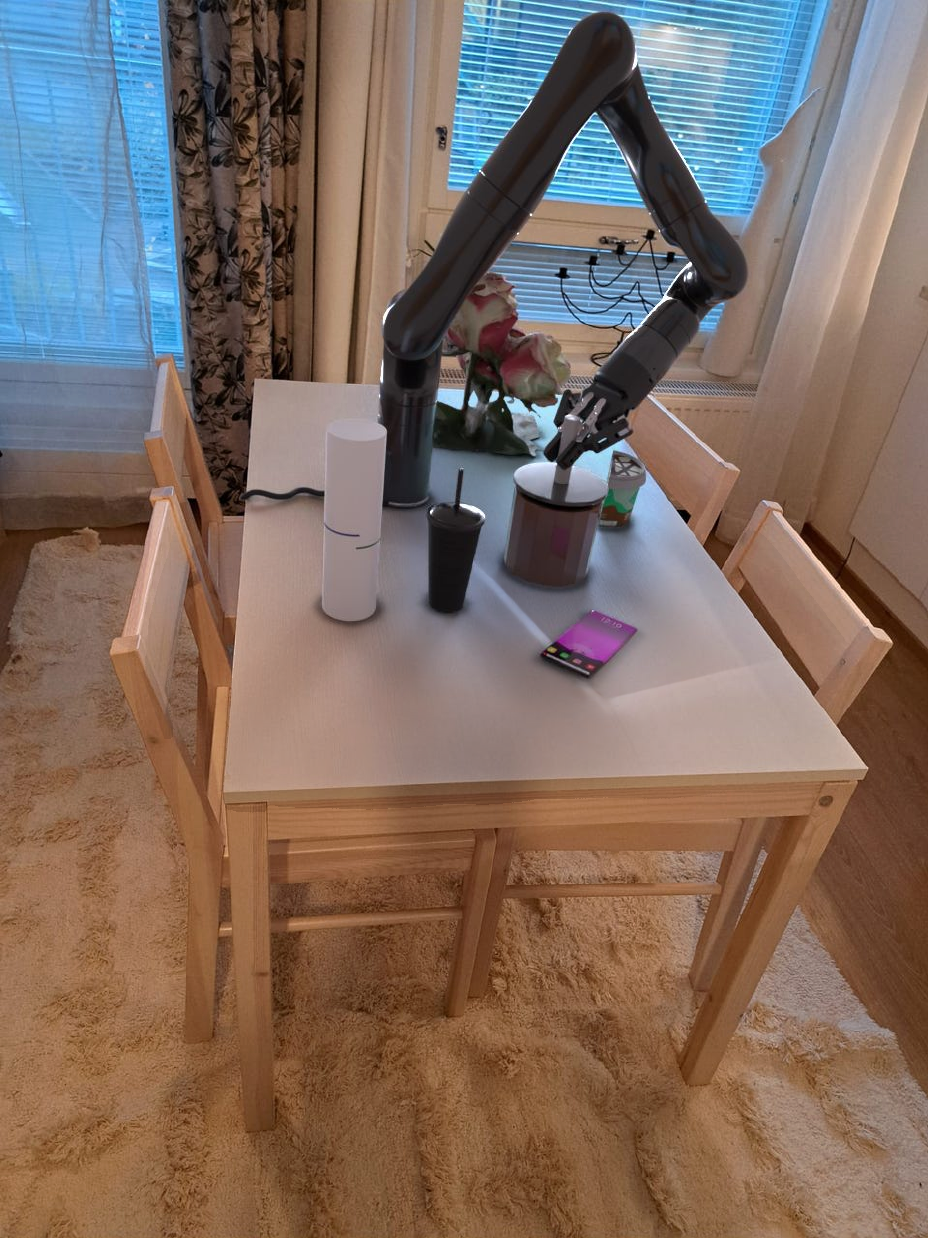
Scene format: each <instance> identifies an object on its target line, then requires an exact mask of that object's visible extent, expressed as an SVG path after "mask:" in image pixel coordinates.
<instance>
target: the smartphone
mask: <svg viewBox="0 0 928 1238" xmlns="http://www.w3.org/2000/svg"><path fill="white" fill-rule="evenodd" d="M637 631H638V629H637V627H635V626H633V625H630V624H628V623H626V622H623V621H620V620H618V619H615V618H613V617H611V616H609V615H606V614H604V613H602V612H600V611H597V610H594V609H592V610H590V611H589V612H587V613H586V614H585V615H584V616H583V617H581V619H579V620H578V621H577V622H576V623H575V624H574V625H572V626H571V627H570V628H568V629H567V630H566V631H565V632H564V633H563V634H562V635H560V636H559V637H558V638H557V639H555V640H554V641H553V642H552V643H550V645H549V646H547V647H546V648H545V649H544V650H542V651H541V652H540V653H539V656H540V658H542V659H545V660H547V661H549V662H550V663H553V664H555V665H557V666H559V667H561V668H564V669H566V670H568V671H570V672H573V673H574V674H577V675H579V676H582V678H583V677H584V678H586V679H589V678H591V677H592V676H593V675H594V674H595V673H596V672H597V671H598V670H600V668H601V667H602V666H603V665H605V664H606V662H607V661H608V660H609V659H611V658H612V657H613V656H614V655H615V654H616V653H617V652H618V651H619V650H620V649H621V648H622V647H623V646H624V645H625V644H626V643H627V642H628V641H630V639H631V638H632V637H633V636H635V634H636V633H637Z"/></svg>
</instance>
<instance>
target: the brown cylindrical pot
mask: <svg viewBox="0 0 928 1238" xmlns="http://www.w3.org/2000/svg"><path fill="white" fill-rule="evenodd" d="M602 503H603V501H601V502H599V503H596V504H593V505H588V506H562V505H555V504H551V503H547V502H543V501H540V500H537V499H535V498H532V497H530V496H528V495H526V494H525V493H523V492H522V491H520V490H519V489H518V488H517V487H516V485H515V484H514V487H513V495H512V501H511V508H510V512H509V513H510V514H509V520H508V526H507V534H506V540H505V547H504V552H503V562H504V566H505V567H506V569H507V570H509V572H510V573H512V575H514V576H516V577H518V578H520V579H522V580H524V581H525V582H527V583H532V584H535V585H540V586H543V587H559V588H560V587H561V588H562V587H566V586H567V587H568V586H573V585H576V584H578V583H580V582H581V581H583V580H585V579H586V576H587V574H588V572H589V568H590V563H591V559H592V554H593V550H594V544H595V540H596V535H597V530H598V526H599V521H600V516H601V514H600V513H601V508H602Z"/></svg>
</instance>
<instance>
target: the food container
mask: <svg viewBox="0 0 928 1238" xmlns="http://www.w3.org/2000/svg"><path fill="white" fill-rule="evenodd" d="M646 481H647V469H646V466H645V463H644V462H643V461H642V460H640V459H639V458H637V457H635V456H634V455H632V454H630V453H627V452H624V451H619V450H616V449H615V450H614V449H613V450H612V453H611V458H610V463H609V468H608V472H607V477H606V481H605V482H606V483H607V485H608V488H609V491H608V495H607V497H606V498H605V499H604V500H603V503H602V508H601V513H600V517H599V522H598V526H599V527H604V528H608V527H609V528H616V527H622V526H624V525H626V524H628V523H629V521H630V520H631V516H632V514H633V513H632V512H633V510H634V506H635V503H636V500H637V497H638V494H639V491H640V488H641V487H642V486H644V485H645V484H646Z"/></svg>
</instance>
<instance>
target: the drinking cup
mask: <svg viewBox="0 0 928 1238" xmlns="http://www.w3.org/2000/svg"><path fill="white" fill-rule="evenodd" d="M464 471H465V469H464V468H462V467H459V468H458V472H457V479H456V487H455V488H456V489H455V497H454V501H442V502H438V503H434V504H432V505H430V506H429V507H428V508H427V509H426V516H425V517H426V519H427V525H428V526H427V531H428V532H427V534H428V535H427V538H428V540H427V544H428V546H427V547H428V549H427V552H428V553H427V554H428V555H427V557H428V558H427V559H428V561H427V563H428V567H427V568H428V571H427V573H428V574H427V575H428V578H427V579H428V581H427V583H428V584H427V585H428V586H427V588H428V591H427V592H428V593H427V594H428V596H427V597H428V599H427V600H428V601H427V602H428V605H429V606H430V608H431V609H433V610H435V611H437V612H440V613H447V614H449V613H450V614H451V613H456V612H459V611H460V610H461V609H462V608H463V607H464V603H465V599H466V595H467V591H468V586H469V581H470V578H471V573H472V570H473V565H474V561H475V557H476V553H477V548H478V544H479V539H480V535H481V532H482V528H483V527H484V525H485V523H486V515H485V514H484V512H483V511H482V510H481V509H479V508H478V507H476V506H473V505H472V504H469V503H465V502H461V497H462V491H463V489H462V488H463V481H464V474H465V473H464Z"/></svg>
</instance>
